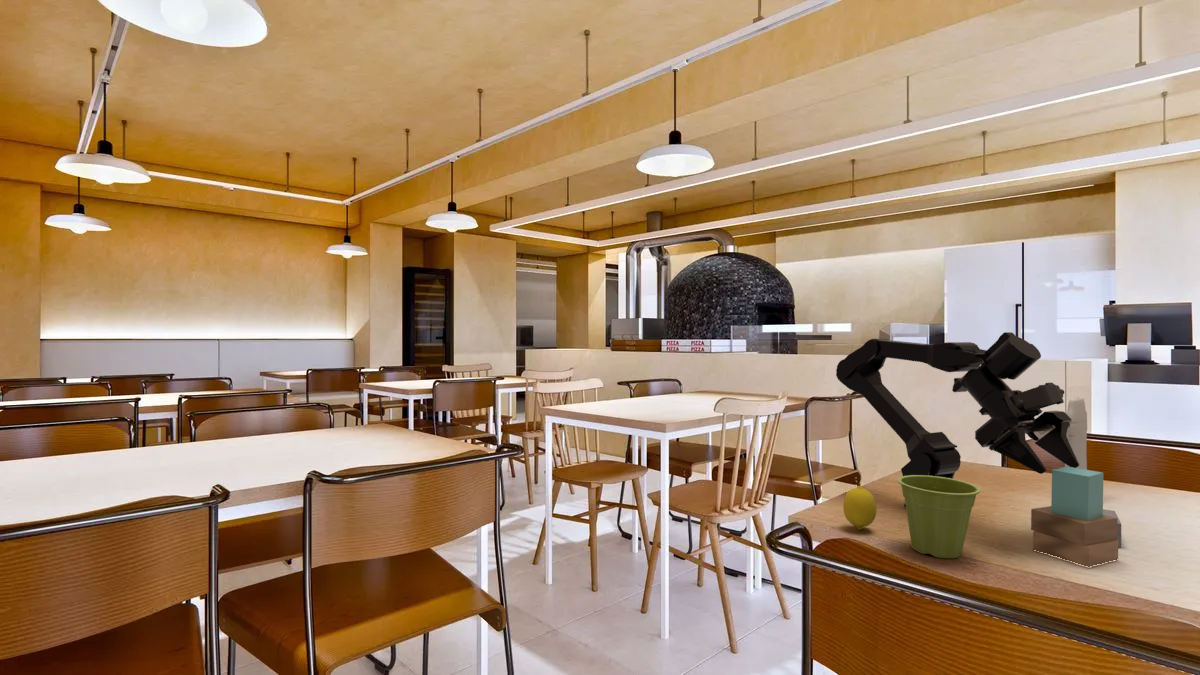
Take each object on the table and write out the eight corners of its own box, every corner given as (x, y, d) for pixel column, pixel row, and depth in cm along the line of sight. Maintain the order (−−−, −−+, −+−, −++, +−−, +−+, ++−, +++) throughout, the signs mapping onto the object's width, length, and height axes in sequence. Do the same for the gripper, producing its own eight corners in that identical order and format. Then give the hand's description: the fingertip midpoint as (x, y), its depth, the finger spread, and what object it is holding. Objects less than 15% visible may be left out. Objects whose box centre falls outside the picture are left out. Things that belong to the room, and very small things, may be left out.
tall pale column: (1071, 490, 136) (1072, 394, 136) (1094, 494, 133) (1095, 396, 133) (1056, 498, 130) (1057, 397, 130) (1079, 502, 126) (1080, 399, 126)
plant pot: (946, 570, 90) (946, 496, 90) (881, 544, 101) (881, 478, 101) (996, 558, 95) (997, 488, 95) (929, 535, 106) (930, 472, 106)
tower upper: (1031, 529, 99) (1031, 509, 99) (1062, 524, 102) (1063, 504, 102) (1084, 546, 92) (1084, 523, 92) (1117, 539, 95) (1117, 518, 94)
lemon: (874, 526, 110) (874, 483, 110) (877, 536, 105) (878, 491, 105) (842, 523, 112) (842, 481, 112) (844, 532, 107) (844, 488, 107)
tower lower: (1033, 552, 98) (1033, 531, 98) (1062, 545, 102) (1062, 525, 102) (1088, 570, 91) (1089, 547, 91) (1118, 562, 94) (1118, 540, 94)
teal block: (1051, 512, 97) (1051, 469, 97) (1066, 507, 100) (1066, 466, 100) (1088, 521, 93) (1088, 476, 93) (1102, 516, 95) (1103, 472, 95)
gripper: (993, 368, 99) (1067, 446, 89) (1060, 365, 107) (1134, 437, 97) (948, 409, 107) (1011, 485, 97) (1013, 404, 114) (1078, 474, 104)
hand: (1060, 469), depth 98 cm, fingers open, 9 cm apart
